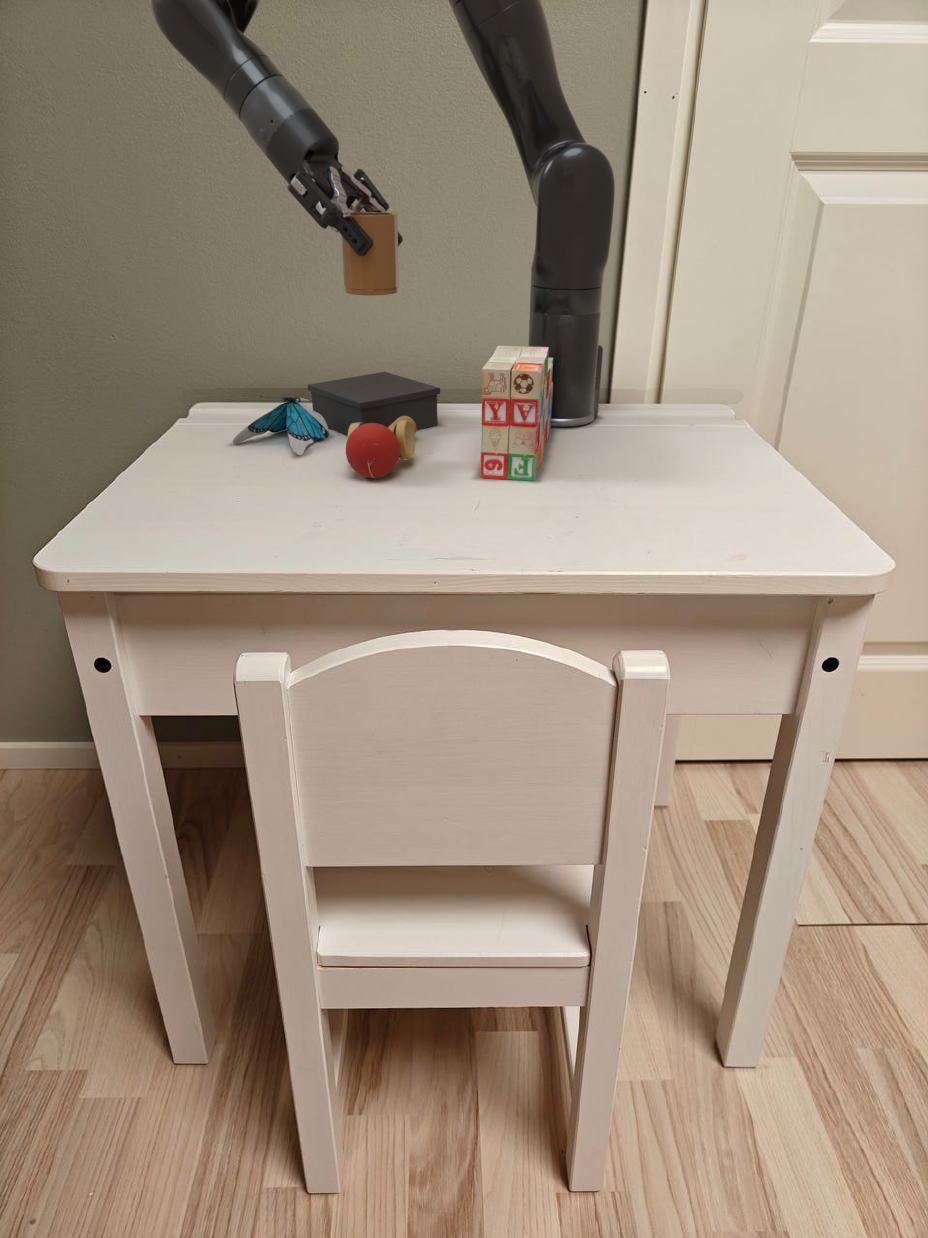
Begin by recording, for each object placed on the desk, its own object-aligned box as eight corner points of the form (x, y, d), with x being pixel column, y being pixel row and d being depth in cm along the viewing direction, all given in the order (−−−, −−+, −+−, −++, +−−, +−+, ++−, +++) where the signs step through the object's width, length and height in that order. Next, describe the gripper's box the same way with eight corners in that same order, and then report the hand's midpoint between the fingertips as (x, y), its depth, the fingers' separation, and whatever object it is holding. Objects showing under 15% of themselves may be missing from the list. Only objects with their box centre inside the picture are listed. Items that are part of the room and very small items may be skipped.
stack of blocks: (504, 426, 115) (507, 330, 109) (551, 428, 114) (556, 332, 108) (479, 478, 96) (481, 366, 91) (535, 481, 96) (540, 368, 90)
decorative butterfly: (347, 403, 110) (299, 400, 101) (343, 454, 112) (295, 455, 103) (284, 393, 114) (232, 390, 105) (281, 443, 116) (230, 443, 107)
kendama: (369, 447, 111) (326, 472, 94) (378, 398, 108) (334, 415, 92) (427, 461, 110) (394, 489, 93) (437, 412, 108) (404, 432, 91)
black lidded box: (386, 406, 124) (385, 371, 122) (440, 425, 115) (440, 387, 113) (310, 421, 117) (307, 384, 114) (362, 442, 108) (360, 403, 106)
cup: (378, 286, 107) (375, 211, 103) (409, 292, 103) (408, 213, 99) (334, 290, 104) (329, 212, 100) (365, 297, 99) (361, 215, 95)
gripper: (268, 102, 91) (370, 228, 93) (341, 108, 103) (430, 220, 104) (234, 158, 96) (331, 278, 97) (307, 158, 107) (393, 265, 108)
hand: (382, 247), depth 100 cm, fingers closed on cup, 6 cm apart
